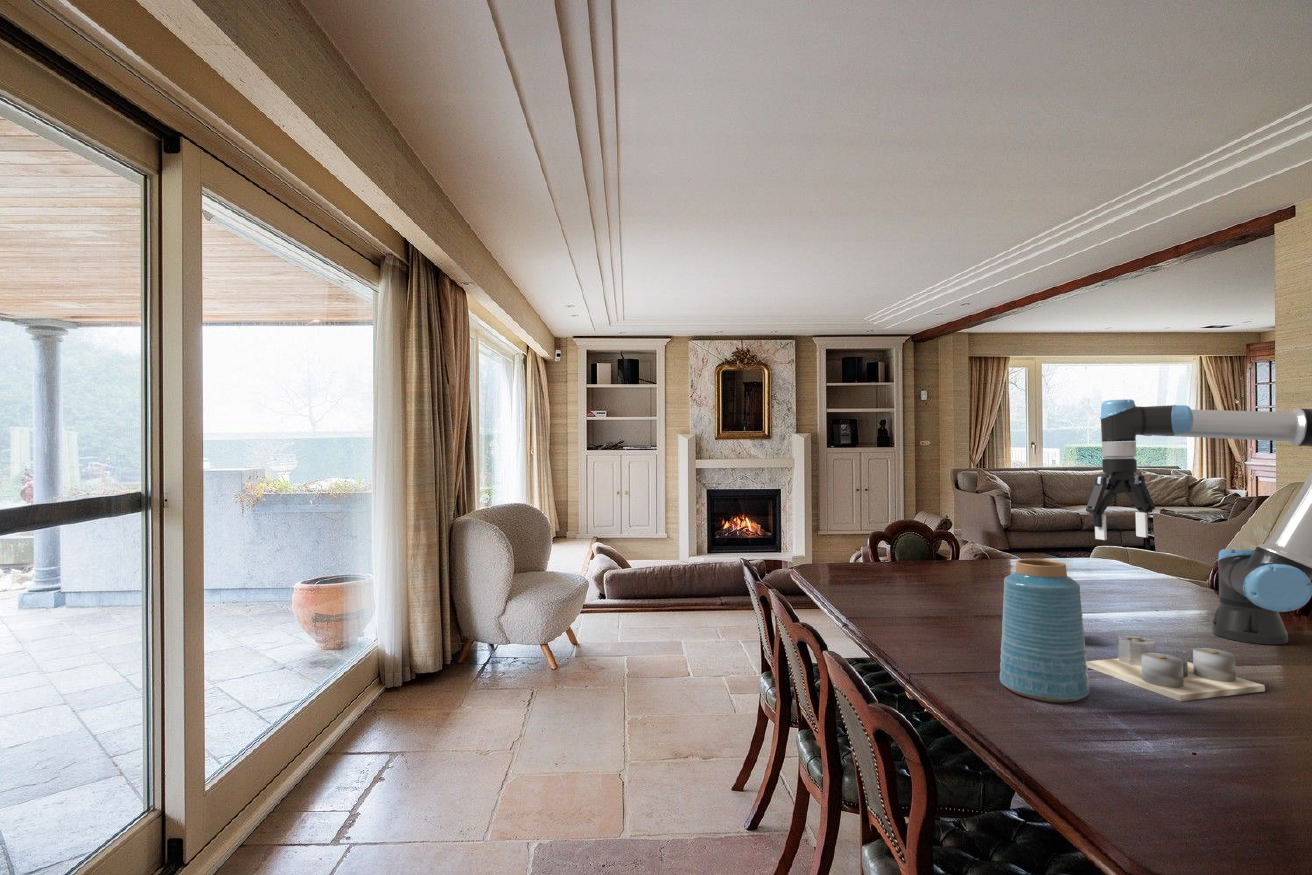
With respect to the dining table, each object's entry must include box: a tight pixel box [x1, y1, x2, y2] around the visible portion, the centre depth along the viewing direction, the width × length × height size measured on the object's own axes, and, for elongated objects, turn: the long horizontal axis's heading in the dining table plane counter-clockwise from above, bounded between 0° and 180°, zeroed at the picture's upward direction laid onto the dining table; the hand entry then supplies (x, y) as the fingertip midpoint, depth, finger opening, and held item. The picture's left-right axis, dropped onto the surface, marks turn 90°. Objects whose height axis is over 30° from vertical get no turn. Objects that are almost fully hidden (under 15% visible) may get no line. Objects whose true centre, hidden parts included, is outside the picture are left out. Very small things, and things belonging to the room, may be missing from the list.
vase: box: [999, 558, 1090, 703], centre depth 141 cm, size 16×16×27 cm
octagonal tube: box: [1117, 635, 1157, 666], centre depth 155 cm, size 7×7×5 cm
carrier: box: [1087, 639, 1266, 702], centre depth 147 cm, size 22×22×6 cm
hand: (1121, 538), depth 178 cm, fingers open, 13 cm apart
